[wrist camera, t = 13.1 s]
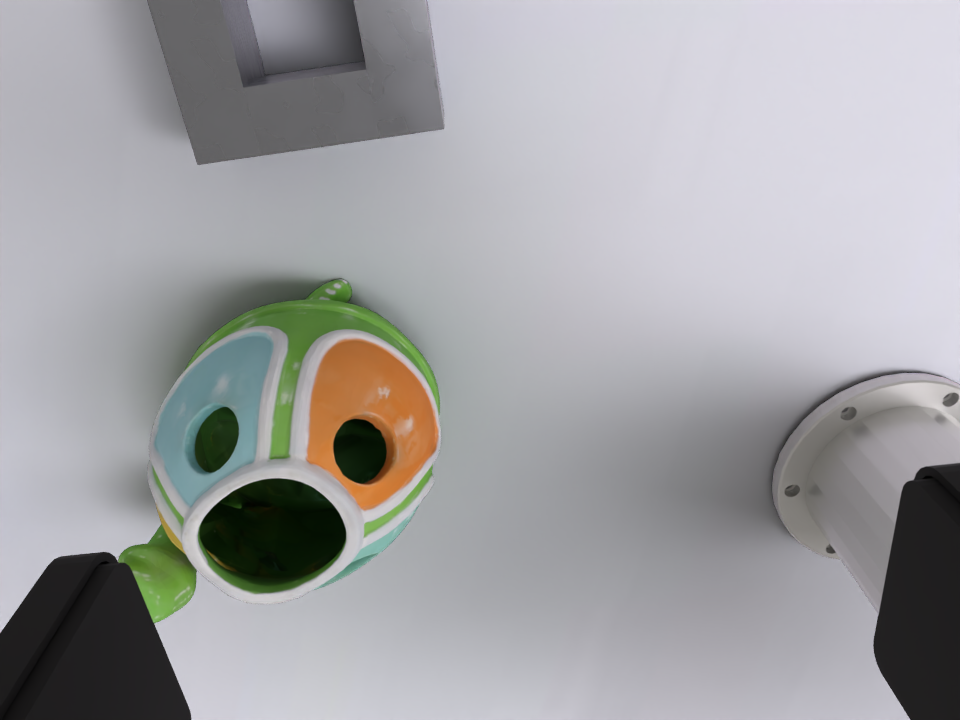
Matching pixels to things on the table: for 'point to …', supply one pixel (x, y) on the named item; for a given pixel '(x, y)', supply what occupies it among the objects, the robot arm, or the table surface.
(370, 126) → the hitch block
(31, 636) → the robot arm
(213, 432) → the turtle holder
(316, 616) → the table surface
